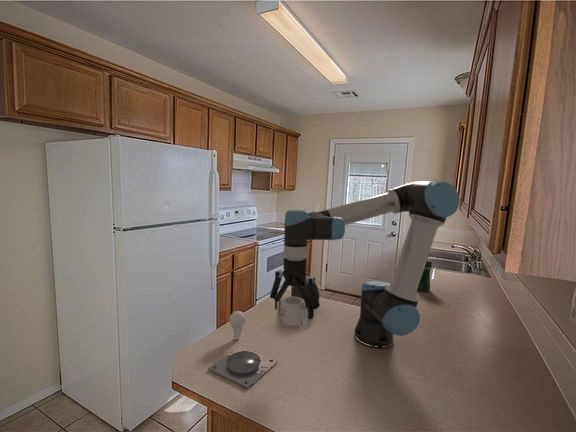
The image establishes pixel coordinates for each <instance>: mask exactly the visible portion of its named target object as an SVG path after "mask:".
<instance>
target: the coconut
mask: <svg viewBox="0 0 576 432" xmlns="http://www.w3.org/2000/svg"><path fill="white" fill-rule="evenodd" d="M305 284H306V288H307V290H308V292H309V288H308V284H307V280H305ZM301 286H302V285H301ZM315 287H316V291H317V296H318V300H319V301H320V291H319V286H318V284H317V283H316V282H315ZM290 295H291V296H295V297H299V298H302V299H303V297H302V294H301V292H300V291H299V290H298V288H297V287H294V286H292V288H291V292H290ZM309 295H310V292H309ZM303 300H304V299H303ZM304 302H305V301H304ZM306 309H307V306H306V303H305V310H306Z"/></svg>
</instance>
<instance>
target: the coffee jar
mask: <svg viewBox="0 0 576 432" xmlns="http://www.w3.org/2000/svg"><path fill="white" fill-rule="evenodd" d="M432 268H433V264H432V261H431V260H427V261H426V264H425V267H424V270H423V273H422V276H421V279H420V282H419V285H418V288H417V291H420V292H429V291H430V290H431V270H432Z"/></svg>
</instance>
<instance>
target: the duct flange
mask: <svg viewBox="0 0 576 432" xmlns="http://www.w3.org/2000/svg"><path fill="white" fill-rule="evenodd" d="M269 361H270V362H273V360H269ZM260 363H261V360H260V357H259V356H258V355H257V354H255V353H253V352H249V351H241V352H237V353H234V354H232V355H228V354H226V355H225V356H223V357H222V358H220V359H219V360H218V361H215V363H213V364H212V365H210V366H209V367H207V371H208V370H210V371H212V372H214V373H216V374H218V375H220V376H222V377H224V378H225V379H224V378H223V379H224V380H226V379H228V380H230V381H229V382H231V381H232V382H231V383H233V382H234V383H233V384H235V383H236V384H235V385H237V384H238V385H237V386H239V385H240V386H239V387H241V386H242V387H241V388H243V387H244V388H243V389H245V388H246V389H245V390H247V389H248V388H249V387H250V386H251V385H252V384H253V383H254V382H255V381H256V380H257V379H258V378H259V377H260V376H261V375H262V374H263V373H264V372H265V371H266V370H260V368H262V369H263V368H267V369H268V367H261V366H260ZM270 367H271V366H270ZM210 371H209V372H210ZM212 372H211V373H212ZM214 373H213V374H214ZM216 374H215V375H216ZM218 375H217V376H218ZM220 376H219V377H220ZM222 377H221V378H222ZM228 380H227V381H228ZM254 384H255V383H254ZM254 384H253V385H254ZM253 385H252V386H253ZM252 386H251V387H252ZM251 387H250V388H251ZM250 388H249V389H250ZM249 389H248V390H249Z"/></svg>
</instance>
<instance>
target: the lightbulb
mask: <svg viewBox="0 0 576 432" xmlns="http://www.w3.org/2000/svg"><path fill="white" fill-rule="evenodd" d="M229 323H230V325H231V328H232V333H233V338H234V339H235V338H239V337H240V338H241V335H242V334H241V333H242V330H243V327H244V325H245V323H246V315H245V313H244V312H242V311H241V310H236V311H233V312H232V313H231V315H229ZM240 338H239V339H240Z"/></svg>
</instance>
